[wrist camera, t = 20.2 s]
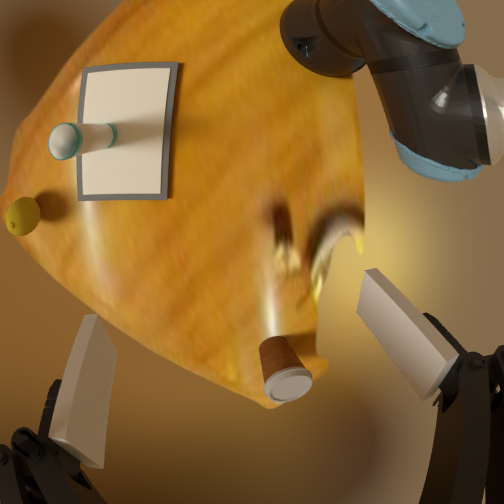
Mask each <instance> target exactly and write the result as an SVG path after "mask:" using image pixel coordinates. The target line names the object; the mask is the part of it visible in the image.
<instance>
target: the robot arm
mask: <svg viewBox="0 0 504 504" xmlns="http://www.w3.org/2000/svg"><path fill="white" fill-rule="evenodd" d="M464 26H465V22H464V18H463V15H462V13H461V11H460V8H459V6H458V5H457V3H456V1H455V0H294V1H292V2H291V3H290V4H289V5H288V6H287V7H286V8H285V10H284V11H283V13H282V16H281V19H280V33H281V37H282V40H283V42H284V45H285V47H286V48H287V50H288V51H289V53H290V54H291V55H292V56H293V57H294V58H295V59H296V60H297V61H298V62H299V63H300V64H301V65H303V66H304V67H305V68H307V69H309V70H311V71H313V72H315V73H318V74H321V75H324V76H332V77H336V76H343V75H348V74H352V73H354V72H356V71H358V70H360V69H361V68H363V67H364V66H365V65H366V64H367V65H368V68H369V70H370V73H371V75H372V78H373V80H374V83H375V85H376V88H377V91H378V94H379V96H380V99H381V102H382V105H383V108H384V112H385V115H386V118H387V121H388V124H389V128H390V129H389V132H390V135H391V137H392V139H393V140H394V142H395V145H396V148H397V152H398V155H399V157H400V159H401V161H402V162H403V163H404V164H405V165H406V166H407V167H408V168H409V169H410V170H412V171H413V172H415V173H417V174H418V175H421V176H423V177H426V178H429V179H432V180H437V181H443V182H461V181H462V180H463V179H466V180H471V179H473V178H475V177H477V176H478V174H480V172H481V169H482V167H483V165H495V164H496V163H497V162H498V160H499V159H500V158H501V157H502V156H503V155H504V78H495V77H492V76H490V75H489V74H488V73H487V72H486V71H484V70H483V69H482V68H481V67H480V66H478V65H477V64H465V65H464V64H462V63H461V60H460V57H459V54H458V51H457V47H458V46H459V45H460V44H461V43H462V42H463V41H464V39H465V35H466V31H465V29H464V28H463V27H464ZM357 314H358V315H359V316H360V318H361V319H362V320H363V322H364V323H365V324H366V326H367V327H368V328H369V330H370V331H371V332H372V334H373V335H374V336H375V338H376V339H377V340H378V342H379V343H380V345H381V346H382V347H383V348H384V350H385V352H386V353H387V354H388V356H389V357H390V358H391V360H392V361H393V363H394V364H395V366H396V367H397V368H398V370H399V371H400V373H401V374H402V375H403V377H404V378H405V380H406V381H407V383H408V384H409V386H410V387H411V389H412V390H413V391H414V393H415V394H416V395H417V397H418V399H419V400H420V402H422V401H424V400H426V399H427V398H429V397H431V396H433V395H434V393H435V392H436V390H437V389H438V387H439V388H440V390H441V393H440V394H439V395H438V397H437V398H436V400H435V401H434V402H433V406H435V405H436V403H437V402H438V401H439V404H438V414H437V422H436V429H435V436H434V442H433V448H432V453H431V458H430V463H429V467H428V472H427V476H426V480H425V484H424V488H423V491H422V495H421V498H420V501H419V504H482V499H483V494H484V488H485V497H486V500H485V501H486V503H485V504H504V345H501V346H499V347H498V348H497V349H496V351H495V352H494V354H492V355H487V356H482V355H481V354H479V353H477V352H469V353H468V352H467V351H466V350H465V349H464V348H463V347H462V346H461V345H460V344H459V342H458V341H457V340H456V339H455V338H454V337H453V336H452V335H451V334H450V333H449V332H447V329H446V328H445V327H444V326H442V324H441V323H440V322H439V321H438V320H437V319H436V318H435V317H433V316H432V315H430V314H428V313H423V314H422V313H421V312H420V311H419V310H418V309H417V308H416V307H415V306H414V305H413V304H412V303H411V302H410V301H409V300H408V299H407V298H406V297H405V296H404V295H403V294H402V293H401V292H400V291H399V290H398V289H397V288H396V287H395V286H394V285H393V284H392V283H391V282H390V281H389V280H388V279H387V278H386V277H385V276H384V275H383V274H382V273H381V272H380V271H379V270H378V269H377V268H374V269H369V270H365V271H364V275H363V281H362V287H361V292H360V297H359V302H358V307H357ZM117 355H118V353H117V351H116V349H115V347H114V345H113V343H112V342H111V340H110V338H109V336H108V334H107V332H106V330H105V328H104V325H103V323H102V321H101V319H100V317H99V315H98V314H91V315H85V316H84V318H83V321H82V323H81V326H80V329H79V331H78V334H77V337H76V340H75V342H74V345H73V348H72V351H71V354H70V357H69V360H68V363H67V366H66V369H65V373H64V376H63V379H62V380H58V379H57V380H55V381H54V383H53V384H52V386H51V387H50V389H49V392H48V395H47V400H46V403H45V408H44V410H43V414H42V418H41V422H40V426H39V431H38V435H36V434H35V433H34V432H33V431H31V430H30V429H28V428H25V427H22V428H19V429H17V430H16V432H14V434H13V436H12V439H11V447H12V450H11V449H10V448H9V447H7V446H6V445H3V444H0V502H1V504H107V503H106V501H105V500H104V499H103V497H102V496H101V495H100V494H99V492H98V491H97V490H96V488H95V487H94V486H93V484H92V483H91V481H90V480H89V479H88V477H87V476H86V474H85V473H84V471H83V470H82V469H81V468H80V462H82V463H83V464H84V465H86V466H87V467H94V468H101V469H103V468H104V452H105V440H106V429H107V419H108V411H109V404H110V397H111V390H112V383H113V377H114V371H115V366H116V360H117ZM498 385H499V386H500V391H499V392H497V390H496V388H497V387H498ZM26 489H27V490H26Z"/></svg>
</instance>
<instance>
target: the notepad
mask: <svg viewBox="0 0 504 504" xmlns="http://www.w3.org/2000/svg"><path fill="white" fill-rule="evenodd" d="M178 65H179V62H140V63H123V64H111V65H102V66H94V67H86V68H83V72H82V79H81V87H80V96H79V107H78V122H77V124H85V123H105V124H111V125H113V126H114V127H115V129H116V131H117V139H116V141H115V143H114V144H113V145H112V146H111V147H110V148H107V149H103V150H98V151H94V152H89V153H85V154H81V155H77V191H78V201H98V200H167V198H168V170H169V152H170V138H171V125H172V114H173V104H174V95H175V87H176V79H177V72H178Z"/></svg>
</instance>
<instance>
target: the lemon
mask: <svg viewBox="0 0 504 504" xmlns="http://www.w3.org/2000/svg"><path fill="white" fill-rule="evenodd" d="M39 220H40V207H39V205H38V203H37V202H36V201H35V200H34V199H32V198H30V197H22V198H20V199H18V200H16V201H15V202H14V203H13V204H12V205H11V206H10V207H9V209H8V211H7V214H6V225H7V228H8V230H9V231H10V232H11V233H12V234H13V235H15V236H24V235H27V234H29V233H30V232H32V231H33V230H34V229H35V228H36V226H37V225H38V223H39Z"/></svg>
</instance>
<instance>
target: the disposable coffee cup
mask: <svg viewBox="0 0 504 504" xmlns="http://www.w3.org/2000/svg"><path fill="white" fill-rule="evenodd" d="M259 353H260V359H261V365H262V371H263V377H264V382H265V386H264V393H265V395H267V396H268V397H269V398H270V399H271V400H272V401H274V402H288V401H291V400H294V399H297V398H299V397H301V396H302V395H304V394H305V393H306V392H307V391H308V390H309V389H310V388H311V386H312V374H311V372H310V371H309V370H307V369H306V368H305V367H304V366H303V364H302V363H301V361H300V360H299V358H298V357H297V355H296V354H295V352H294V351H293V350H292V348H291V347H290V345H289V344H288V342H287V341H286V339H285V338H283V337H278V336H277V337H271V338H269V339H267V340H265V341H264V342H263V343H262V344H261V345H260V347H259Z"/></svg>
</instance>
